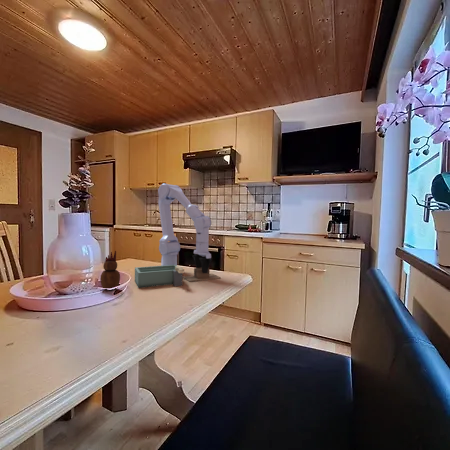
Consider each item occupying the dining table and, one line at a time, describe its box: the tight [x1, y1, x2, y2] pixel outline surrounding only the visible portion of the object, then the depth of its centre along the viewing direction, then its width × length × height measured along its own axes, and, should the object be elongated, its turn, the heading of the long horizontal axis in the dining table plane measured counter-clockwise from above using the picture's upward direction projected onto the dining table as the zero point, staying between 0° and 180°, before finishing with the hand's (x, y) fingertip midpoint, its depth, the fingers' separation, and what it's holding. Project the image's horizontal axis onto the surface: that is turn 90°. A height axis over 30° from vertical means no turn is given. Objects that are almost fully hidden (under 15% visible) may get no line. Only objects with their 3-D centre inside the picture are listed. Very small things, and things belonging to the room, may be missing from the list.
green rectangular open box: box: [134, 264, 183, 289], centre depth 110 cm, size 14×18×6 cm
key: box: [175, 265, 185, 274], centre depth 105 cm, size 6×2×2 cm, turn 26°
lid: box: [182, 267, 221, 283], centre depth 120 cm, size 8×15×5 cm, turn 120°
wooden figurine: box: [99, 250, 121, 289], centre depth 99 cm, size 7×6×15 cm
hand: (201, 271), depth 120 cm, fingers open, 6 cm apart
